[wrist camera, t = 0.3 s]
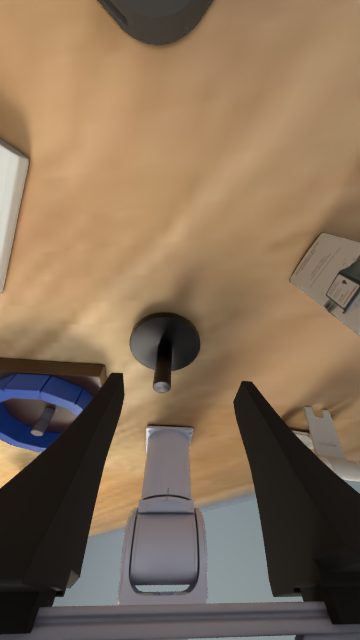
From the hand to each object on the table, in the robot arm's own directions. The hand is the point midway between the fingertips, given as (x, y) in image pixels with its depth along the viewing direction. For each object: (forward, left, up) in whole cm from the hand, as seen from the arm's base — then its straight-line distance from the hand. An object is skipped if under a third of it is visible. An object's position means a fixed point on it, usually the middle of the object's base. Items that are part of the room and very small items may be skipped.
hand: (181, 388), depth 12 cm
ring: (-17, +16, -8) cm, 25 cm away
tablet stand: (-20, -23, -10) cm, 32 cm away
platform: (-17, +16, -10) cm, 25 cm away
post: (-5, +1, -10) cm, 11 cm away
